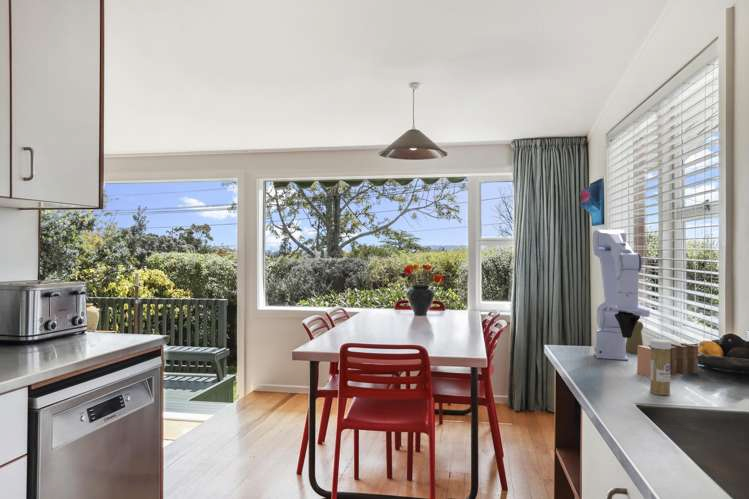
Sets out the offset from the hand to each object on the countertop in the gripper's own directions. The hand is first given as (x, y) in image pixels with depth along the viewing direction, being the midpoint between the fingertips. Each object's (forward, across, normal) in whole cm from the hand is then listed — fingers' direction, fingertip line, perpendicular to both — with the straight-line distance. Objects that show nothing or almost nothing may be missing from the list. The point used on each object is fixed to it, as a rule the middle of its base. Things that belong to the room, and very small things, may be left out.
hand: (626, 337), depth 152 cm
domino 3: (+9, +8, +12) cm, 17 cm away
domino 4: (+9, +8, +16) cm, 20 cm away
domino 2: (+9, +8, +8) cm, 14 cm away
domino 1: (+9, +8, 0) cm, 12 cm away
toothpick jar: (+10, +23, -12) cm, 28 cm away
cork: (+10, -18, +21) cm, 30 cm away
